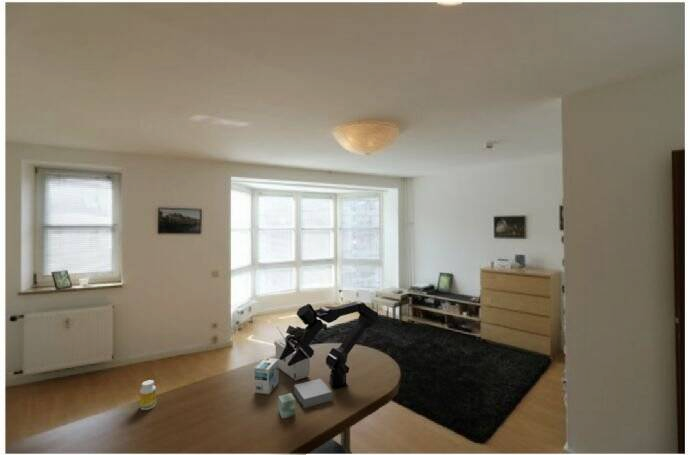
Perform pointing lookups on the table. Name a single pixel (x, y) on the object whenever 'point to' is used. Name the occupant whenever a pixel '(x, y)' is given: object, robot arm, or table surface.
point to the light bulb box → (266, 375)
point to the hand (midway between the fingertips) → (284, 362)
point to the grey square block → (312, 392)
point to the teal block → (286, 405)
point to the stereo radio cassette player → (295, 370)
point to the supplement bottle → (147, 395)
